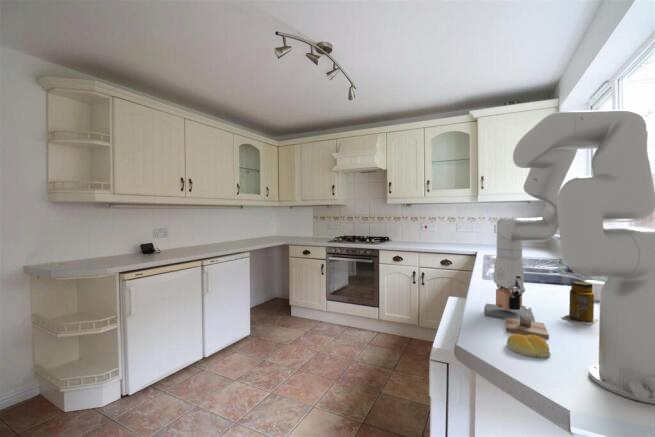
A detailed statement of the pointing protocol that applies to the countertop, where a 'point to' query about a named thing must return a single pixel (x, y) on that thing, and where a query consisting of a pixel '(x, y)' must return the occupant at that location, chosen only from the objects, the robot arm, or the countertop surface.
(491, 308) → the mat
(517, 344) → the bread roll
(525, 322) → the post
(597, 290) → the shot glass
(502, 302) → the peach rounded block
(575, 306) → the condiment
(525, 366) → the countertop surface
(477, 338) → the countertop surface
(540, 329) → the post base
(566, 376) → the countertop surface
